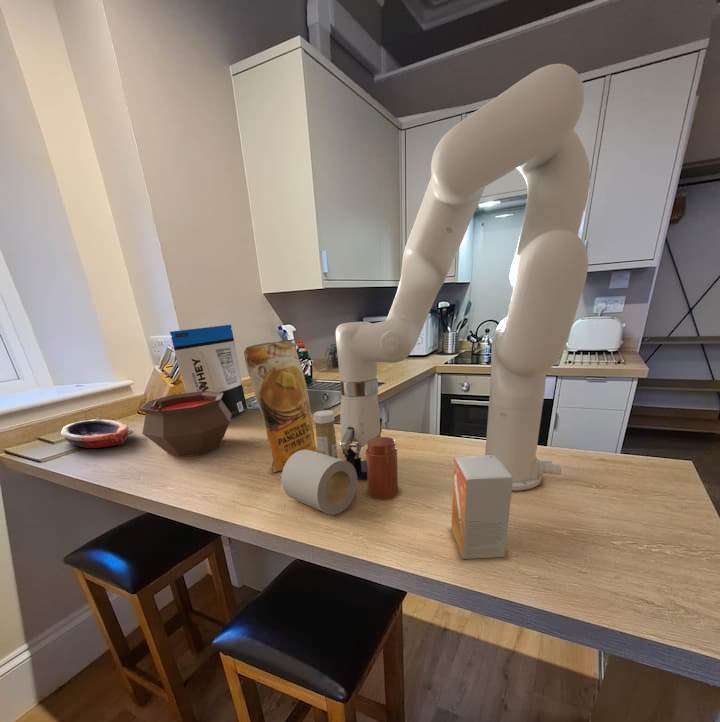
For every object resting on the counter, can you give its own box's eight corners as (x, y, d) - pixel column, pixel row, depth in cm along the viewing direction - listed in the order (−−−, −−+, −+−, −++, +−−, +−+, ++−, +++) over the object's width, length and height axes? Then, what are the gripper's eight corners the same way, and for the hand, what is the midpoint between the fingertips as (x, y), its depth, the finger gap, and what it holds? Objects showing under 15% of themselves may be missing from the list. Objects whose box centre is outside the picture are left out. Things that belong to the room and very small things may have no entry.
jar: (400, 486, 80) (399, 436, 76) (395, 500, 75) (393, 447, 70) (372, 485, 82) (369, 435, 77) (365, 498, 76) (361, 446, 72)
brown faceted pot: (213, 463, 99) (198, 399, 92) (129, 463, 103) (108, 402, 96) (252, 433, 120) (242, 379, 113) (181, 434, 124) (167, 382, 117)
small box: (450, 530, 64) (453, 456, 59) (489, 528, 64) (495, 454, 58) (461, 560, 57) (466, 479, 51) (505, 558, 57) (514, 476, 51)
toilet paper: (285, 507, 75) (277, 459, 71) (323, 488, 82) (318, 443, 77) (320, 523, 69) (314, 471, 65) (359, 501, 75) (355, 453, 71)
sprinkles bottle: (342, 469, 90) (337, 412, 85) (325, 474, 88) (318, 416, 82) (332, 463, 94) (327, 408, 88) (316, 468, 92) (309, 412, 86)
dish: (105, 427, 138) (100, 413, 136) (145, 441, 120) (140, 425, 118) (54, 440, 127) (48, 426, 125) (90, 458, 109) (83, 441, 107)
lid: (343, 476, 87) (343, 468, 86) (362, 466, 91) (361, 458, 90) (366, 483, 83) (366, 474, 82) (385, 472, 87) (384, 463, 86)
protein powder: (255, 409, 147) (240, 324, 135) (203, 428, 129) (179, 331, 116) (238, 407, 152) (221, 325, 139) (184, 425, 134) (160, 332, 121)
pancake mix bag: (255, 472, 92) (231, 347, 80) (306, 446, 106) (292, 337, 94) (277, 477, 88) (255, 347, 77) (326, 449, 103) (314, 336, 91)
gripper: (362, 379, 87) (367, 451, 94) (320, 397, 74) (330, 480, 81) (393, 379, 84) (396, 454, 91) (355, 399, 70) (362, 484, 77)
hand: (365, 466), depth 86 cm, fingers open, 9 cm apart
